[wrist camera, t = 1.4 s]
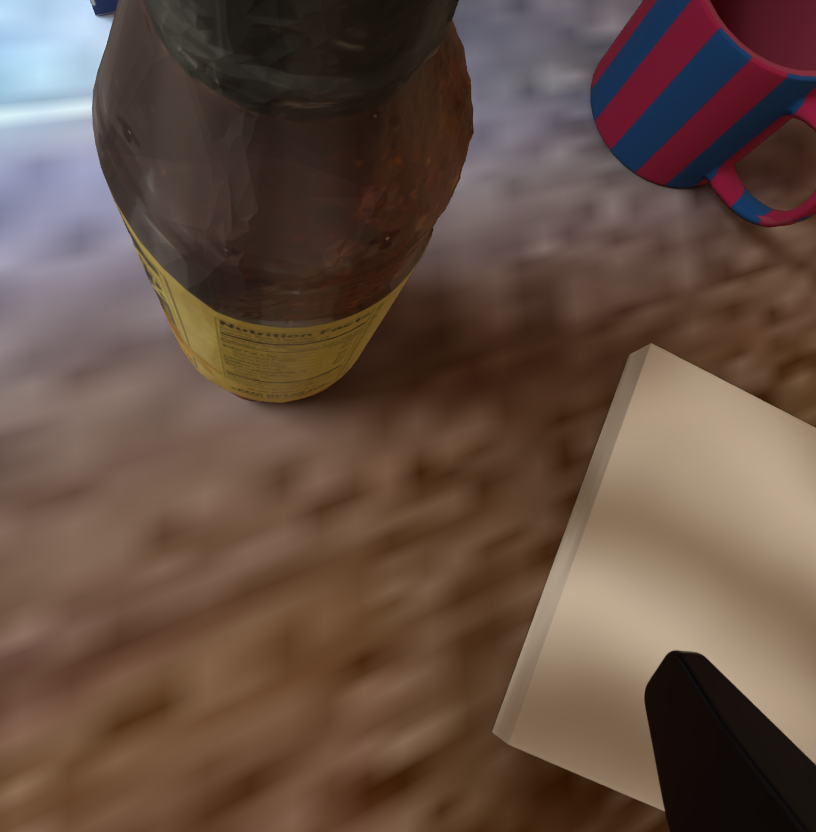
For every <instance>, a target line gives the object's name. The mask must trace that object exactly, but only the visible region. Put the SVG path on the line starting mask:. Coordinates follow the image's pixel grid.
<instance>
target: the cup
mask: <svg viewBox="0 0 816 832" xmlns="http://www.w3.org/2000/svg"><path fill="white" fill-rule="evenodd" d="M591 107H592V113H593V117H594V120H595V123H596V126H597V129H598V131H599V133H600V135H601V137H602V138H603V140H604V142H605V144H606V145H607V146H608V148H609V149H610V151H611V152H612V153H613V154H614V155H615V156H616V158H617V159H618V160H619V161H620V162H621V163H622V164H623V165H625V166H626V167H627V168H629V169H630V170H631V171H633V172H634V173H635V174H637V175H639V176H641V177H643V178H645V179H646V180H649V181H651V182H654V183H657V184H660V185H664V186H669V187H675V188H689V187H694V186H700V185H703V184H705V183H708V182H709V184H710V185H711V187H712V188H713V190H714V191H715V192H716V193H717V194H718V196H719V197H720V198H721V199H722V201H723V202H724V203H725V204H726V205H727V206H728V207H729V208H730V209H731V210H732V211H733V212H734V213H736V214H737V215H738V216H740V217H741V218H743V219H744V220H746V221H748V222H750V223H752V224H755V225H759V226H763V227H776V226H785V225H791V224H794V223H797V222H800V221H803V220H805V219H807V218H809V217H811V216H812V215H814V214H816V191H815V192H814V193H813V194H812V195H811V197H810V198H809V199H808V200H807V201H805V202H804V203H803V204H801V205H800V206H799V207H797V208H794V209H791V210H789V211H781V210H775V209H771V208H770V207H768V206H766V205H764V204H763V203H761V202H760V201H758V200H757V199H756V198H754V197H753V196H752V195H751V194H750V193H749V191H748V190H747V189H746V188H745V187H744V185H743V184H742V182H741V181H740V179H739V177H738V175H737V172H736V169H735V166H734V165H735V164H736V163H737V162H739V161H740V160H741V159H742V158H743V157H745V156H746V155H747V154H748V153H750V152H751V151H752V150H753V149H754V148H756V147H757V146H758V145H759V144H761V143H762V142H763V141H764V140H766V139H767V138H768V137H769V136H770V135H772V134H773V133H774V132H775V131H777V130H778V129H779V128H780V127H781V126H783V125H784V124H785V123H786V122H788V121H789V120H790V119H791V118H796V119H798V120H801V121H803V122H805V123H806V124H807V125H809V126H810V127H811V128H812V129H814V130H815V132H816V0H643V2H642V3H641V5H640V6H639V7H638V9H637V10H636V12H635V13H634V14H633V16H632V17H631V19H630V20H629V21H628V23H627V24H626V26H625V27H624V28H623V30H622V31H621V33H620V34H619V35H618V37H617V38H616V40H615V41H614V43H613V44H612V45H611V47H610V48H609V50H608V51H607V52H606V54H605V55H604V57H603V58H602V59H601V61H600V62H599V64H598V66H597V68H596V70H595V73H594V75H593V79H592V84H591Z"/></svg>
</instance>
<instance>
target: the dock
mask: <svg viewBox="0 0 816 832" xmlns="http://www.w3.org/2000/svg"><path fill="white" fill-rule="evenodd" d="M673 650H680V651H692V652H698V653H700V654H702V655H703V656H705V657H706V658H707V659H708V660H709V661H710V662H711V663H712V664H713V665H714V666H715V667H716V668H717V669H718V670H719V671H720V672H722V673H723V674H724V675H725V676H726V677H727V678H728V679H729V680H730V681H731V682H732V683H733V684H734V685H735V686H736V687H737V688H738V689H739V690H740V691H741V692H742V693H743V694H744V695H745V696H746V697H747V698H748V699H749V700H750V701H751V702H752V703H753V704H754V705H755V706H756V707H757V708H758V709H759V710H760V711H761V712H762V713H763V714H764V715H765V716H766V717H768V718H769V719H770V720H771V721H772V722H773V723H774V724H775V725H776V726H777V727H778V728H779V729H780V730H781V731H782V732H783V733H784V734H785V735H786V736H787V737H788V738H789V739H790V740H791V741H792V742H793V743H794V744H795V745H796V746H797V747H798V748H799V749H800V750H801V751H802V752H803V753H804V754H805V755H806V756H807V757H808V758H809V759H810V760H811V761H812V762H813V763H815V764H816V428H815V427H813V426H811V425H809V424H807V423H805V422H803V421H801V420H799V419H797V418H796V417H794V416H792V415H790V414H788V413H786V412H784V411H782V410H780V409H778V408H776V407H774V406H772V405H770V404H768V403H766V402H764V401H763V400H761V399H759V398H757V397H755V396H753V395H751V394H749V393H747V392H745V391H743V390H741V389H739V388H737V387H735V386H733V385H731V384H730V383H728V382H726V381H724V380H722V379H720V378H718V377H716V376H714V375H712V374H710V373H708V372H706V371H704V370H702V369H700V368H698V367H697V366H695V365H693V364H691V363H689V362H687V361H685V360H683V359H681V358H679V357H677V356H675V355H673V354H671V353H669V352H667V351H666V350H664V349H662V348H660V347H658V346H656V345H654V344H652V343H651V344H649V345H647V346H645V347H643V348H641V349H639V350H637V351H635V352H633V353H631V354H629V357H628V360H627V362H626V365H625V368H624V371H623V373H622V376H621V379H620V382H619V384H618V387H617V390H616V393H615V395H614V398H613V401H612V404H611V406H610V409H609V412H608V415H607V417H606V420H605V423H604V426H603V428H602V431H601V434H600V437H599V439H598V442H597V445H596V448H595V450H594V453H593V456H592V459H591V461H590V464H589V467H588V470H587V472H586V475H585V478H584V481H583V483H582V486H581V489H580V492H579V494H578V497H577V500H576V503H575V505H574V508H573V511H572V513H571V516H570V519H569V522H568V524H567V527H566V530H565V533H564V535H563V538H562V541H561V544H560V546H559V549H558V552H557V555H556V557H555V560H554V563H553V566H552V568H551V571H550V574H549V577H548V579H547V582H546V585H545V588H544V590H543V593H542V596H541V599H540V601H539V604H538V607H537V610H536V612H535V615H534V618H533V621H532V623H531V626H530V629H529V632H528V634H527V637H526V640H525V643H524V645H523V648H522V651H521V654H520V656H519V659H518V662H517V665H516V667H515V670H514V673H513V676H512V678H511V681H510V684H509V687H508V689H507V692H506V695H505V698H504V700H503V703H502V706H501V709H500V711H499V714H498V717H497V720H496V722H495V725H494V728H493V731H492V733H494V734H495V735H496V736H498V737H499V738H500V739H502V740H503V741H504V742H505V743H507V744H508V745H510V746H513V747H515V748H517V749H520V750H522V751H524V752H527V753H529V754H531V755H534V756H536V757H538V758H541V759H543V760H545V761H548V762H550V763H552V764H555V765H557V766H560V767H562V768H564V769H567V770H569V771H571V772H574V773H576V774H578V775H581V776H583V777H585V778H588V779H590V780H592V781H595V782H597V783H599V784H602V785H604V786H606V787H609V788H611V789H613V790H616V791H618V792H620V793H623V794H625V795H627V796H630V797H632V798H634V799H637V800H639V801H641V802H644V803H646V804H648V805H651V806H653V807H655V808H658V809H660V810H662V811H665V809H664V804H663V800H662V795H661V790H660V784H659V779H658V773H657V768H656V763H655V757H654V752H653V746H652V741H651V736H650V730H649V725H648V720H647V714H646V709H645V702H644V694H645V688H646V685H647V683H648V681H649V680H650V678H651V677H652V675H653V674H654V672H655V671H656V669H657V668H658V666H659V665H660V663H661V662H662V660H663V659H664V657H665V656H666V655H667V654H668V653H669V652H671V651H673Z"/></svg>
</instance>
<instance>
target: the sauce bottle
mask: <svg viewBox="0 0 816 832" xmlns="http://www.w3.org/2000/svg"><path fill="white" fill-rule="evenodd" d="M458 1H459V0H118V3H117V7H116V11H115V15H114V19H113V23H112V27H111V30H110V34H109V38H108V41H107V45H106V48H105V51H104V54H103V57H102V60H101V63H100V66H99V69H98V72H97V76H96V81H95V85H94V89H93V103H92V117H93V130H94V137H95V144H96V148H97V152H98V156H99V161H100V165H101V168H102V171H103V174H104V177H105V179H106V181H107V184H108V186H109V189H110V191H111V194H112V196H113V198H114V201H115V203H116V205H117V207H118V210H119V212H120V214H121V216H122V218H123V221H124V223H125V225H126V227H127V230H128V232H129V234H130V235H131V238H132V241H133V244H134V246H135V248H136V250H137V252H138V255H139V258H140V260H141V262H142V265H143V267H144V269H145V271H146V274H147V276H148V278H149V280H150V282H151V284H152V285H153V288H154V290H155V292H156V294H157V296H158V298H159V301H160V303H161V305H162V308H163V310H164V312H165V315H166V317H167V319H168V321H169V323H170V326H171V328H172V330H173V332H174V334H175V336H176V338H177V340H178V342H179V344H180V346H181V348H182V350H183V352H184V353H185V355H186V356H187V357H188V359H189V360H190V362H191V363H192V364H193V365H194V366H195V368H196V369H197V370H198V371H199V372H200V373H201V374H203V375H204V376H205V377H206V378H207V379H208V380H210V381H211V382H213V383H214V384H216V385H218V386H219V387H221V388H223V389H225V390H227V391H229V392H231V393H233V394H234V395H236V396H238V397H240V398H242V399H245V400H250V401H260V402H270V403H273V402H277V403H284V402H289V401H293V400H298V399H302V398H305V397H311V396H314V395H316V394H318V393H321V392H323V391H325V390H327V389H328V388H329V387H330V386H331V385H332V384H333V383H335V382H336V381H337V380H339V379H340V378H341V377H342V376H343V375H344V374H345V373H346V372H347V371H349V370H350V368H351V367H352V366H353V364H354V363H355V362H356V361H357V359H358V358H359V356H360V355H361V353H362V351H363V350H364V348H365V346H366V345H367V343H368V342H369V340H370V338H371V337H372V335H373V334H374V332H375V331H376V329H377V327H378V326H379V324H380V323H381V321H382V320H383V318H384V316H385V315H386V313H387V312H388V310H389V309H390V307H391V305H392V304H393V302H394V301H395V299H396V298H397V296H398V294H399V293H400V291H401V290H402V288H403V286H404V285H405V283H406V281H407V280H408V278H409V277H410V275H411V273H412V272H413V270H414V268H415V267H416V265H417V264H418V262H419V261H420V259H421V257H422V256H423V254H424V252H425V250H426V247H427V245H428V243H429V240H430V238H431V236H432V232H433V226H434V224H435V223H436V221H437V219H438V218H439V217H440V215H441V214H442V213H443V212H444V211H445V209H446V207H447V205H448V203H449V201H450V199H451V197H452V196H453V193H454V190H455V188H456V186H457V184H458V182H459V180H460V175H461V171H462V167H463V164H464V162H465V159H466V155H467V151H468V146H469V142H470V140H471V137H472V135H473V133H474V131H473V106H472V101H471V83H470V82H471V79H470V77H469V74H468V72H467V66H466V60H465V52H464V47H463V45H462V43H461V41H460V39H459V37H458V35H457V32H456V29H455V26H454V23H453V20H452V18H453V15H454V12H455V9H456V7H457V4H458Z"/></svg>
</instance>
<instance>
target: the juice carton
mask: <svg viewBox="0 0 816 832" xmlns="http://www.w3.org/2000/svg"><path fill="white" fill-rule="evenodd" d="M90 1H91V4H92V7H93V10H94V12H95V15H103V14H108V13H114V12H115V11H116V7H117V3H118V0H90Z"/></svg>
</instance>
